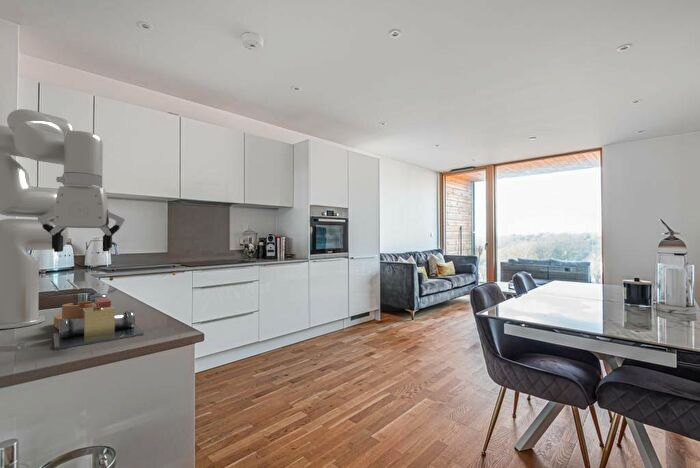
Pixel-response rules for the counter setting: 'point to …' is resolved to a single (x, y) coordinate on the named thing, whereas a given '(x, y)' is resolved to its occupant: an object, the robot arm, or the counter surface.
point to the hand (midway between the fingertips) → (82, 251)
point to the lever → (101, 300)
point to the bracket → (72, 311)
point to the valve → (96, 327)
